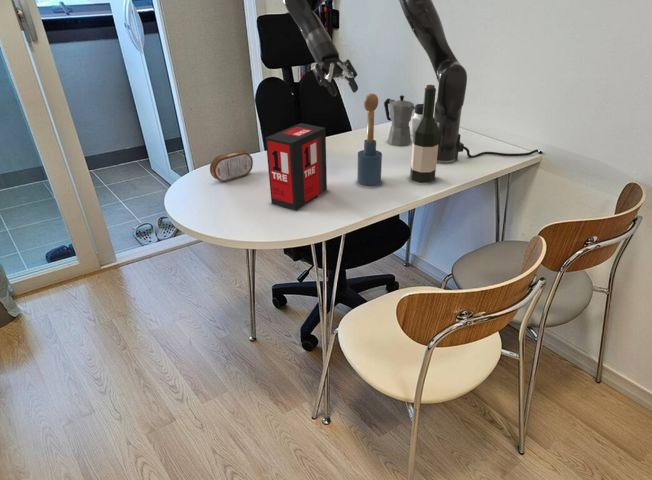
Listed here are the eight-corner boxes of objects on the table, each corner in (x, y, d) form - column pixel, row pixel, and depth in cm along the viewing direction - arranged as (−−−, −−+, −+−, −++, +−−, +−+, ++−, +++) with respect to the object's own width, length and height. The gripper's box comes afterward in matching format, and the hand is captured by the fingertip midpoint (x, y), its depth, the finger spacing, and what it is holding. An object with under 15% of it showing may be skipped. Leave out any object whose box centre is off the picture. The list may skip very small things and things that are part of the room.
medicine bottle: (428, 137, 203) (430, 107, 196) (410, 135, 204) (413, 106, 197) (429, 132, 208) (432, 102, 202) (412, 130, 209) (414, 101, 203)
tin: (250, 171, 169) (247, 146, 164) (255, 173, 167) (253, 149, 163) (211, 182, 160) (207, 157, 156) (216, 185, 158) (212, 160, 154)
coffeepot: (419, 143, 195) (423, 96, 185) (403, 149, 190) (407, 100, 180) (391, 134, 204) (393, 89, 194) (375, 139, 199) (376, 93, 189)
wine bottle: (418, 186, 160) (426, 89, 143) (404, 177, 166) (411, 83, 149) (439, 182, 163) (450, 87, 147) (425, 173, 169) (434, 81, 153)
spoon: (361, 182, 161) (362, 94, 145) (372, 178, 164) (375, 91, 148) (365, 184, 159) (367, 95, 144) (376, 180, 162) (380, 93, 147)
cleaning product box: (295, 210, 144) (291, 143, 133) (271, 203, 148) (265, 137, 137) (326, 191, 156) (325, 127, 145) (303, 185, 160) (300, 123, 148)
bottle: (376, 177, 166) (377, 136, 158) (383, 186, 160) (385, 143, 152) (354, 180, 164) (355, 138, 156) (361, 188, 158) (362, 145, 150)
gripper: (308, 41, 148) (333, 89, 147) (344, 37, 156) (368, 82, 155) (299, 58, 154) (323, 103, 153) (334, 53, 162) (356, 96, 161)
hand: (345, 92), depth 154 cm, fingers open, 8 cm apart
